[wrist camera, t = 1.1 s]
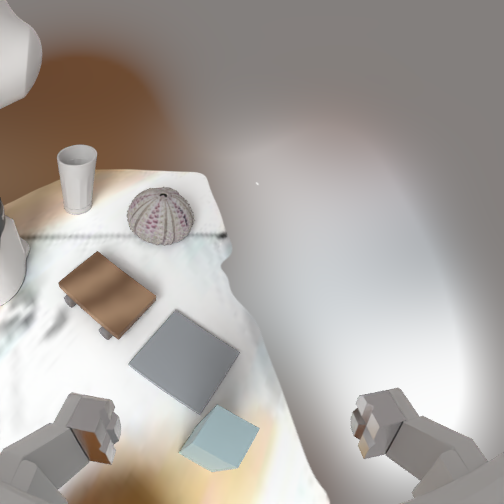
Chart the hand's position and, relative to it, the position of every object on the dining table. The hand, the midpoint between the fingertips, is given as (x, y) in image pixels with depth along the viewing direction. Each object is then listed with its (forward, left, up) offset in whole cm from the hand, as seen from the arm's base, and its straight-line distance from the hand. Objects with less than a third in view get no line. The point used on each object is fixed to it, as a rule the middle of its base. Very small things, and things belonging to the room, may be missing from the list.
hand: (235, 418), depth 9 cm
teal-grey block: (+3, +5, -32) cm, 33 cm away
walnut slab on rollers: (-22, +15, -32) cm, 41 cm away
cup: (-43, +27, -32) cm, 60 cm away
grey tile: (-6, +15, -32) cm, 36 cm away
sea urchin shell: (-26, +35, -32) cm, 54 cm away
